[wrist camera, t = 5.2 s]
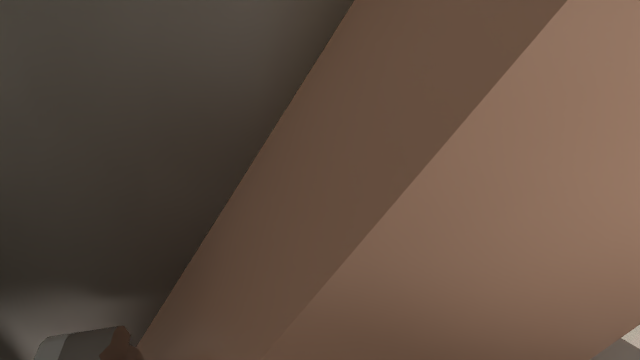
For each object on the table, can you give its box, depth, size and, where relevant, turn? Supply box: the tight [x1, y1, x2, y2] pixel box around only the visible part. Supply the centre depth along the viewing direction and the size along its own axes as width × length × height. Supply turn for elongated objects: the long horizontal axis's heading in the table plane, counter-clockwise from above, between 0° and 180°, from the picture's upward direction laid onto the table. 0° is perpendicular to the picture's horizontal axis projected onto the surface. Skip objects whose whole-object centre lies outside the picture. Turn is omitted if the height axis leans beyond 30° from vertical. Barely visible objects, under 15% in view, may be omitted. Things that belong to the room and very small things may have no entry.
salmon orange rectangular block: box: [136, 0, 640, 360], centre depth 10 cm, size 16×4×5 cm, turn 148°
